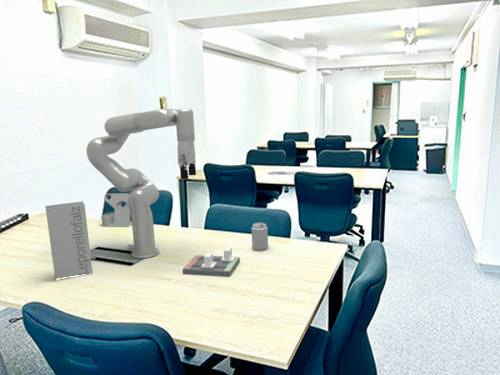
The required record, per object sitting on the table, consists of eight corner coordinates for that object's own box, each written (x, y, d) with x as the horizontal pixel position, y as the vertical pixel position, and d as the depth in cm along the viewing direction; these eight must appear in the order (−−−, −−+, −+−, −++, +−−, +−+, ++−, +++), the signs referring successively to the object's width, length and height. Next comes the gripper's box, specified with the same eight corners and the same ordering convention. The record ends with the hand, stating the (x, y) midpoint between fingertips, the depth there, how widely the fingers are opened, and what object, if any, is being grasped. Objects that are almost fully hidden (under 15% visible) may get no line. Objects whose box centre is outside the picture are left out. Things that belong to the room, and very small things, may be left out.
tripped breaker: (201, 268, 171) (200, 256, 170) (205, 263, 175) (204, 252, 174) (212, 268, 170) (212, 257, 169) (216, 264, 174) (216, 253, 173)
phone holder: (100, 226, 244) (97, 196, 240) (109, 221, 253) (106, 192, 250) (128, 227, 241) (125, 196, 237) (136, 222, 250) (133, 192, 247)
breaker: (221, 261, 177) (220, 250, 176) (224, 257, 182) (223, 246, 181) (232, 262, 176) (231, 251, 175) (235, 257, 181) (234, 247, 180)
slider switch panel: (183, 273, 171) (182, 268, 171) (196, 259, 187) (196, 255, 186) (230, 276, 167) (229, 271, 166) (239, 261, 182) (239, 257, 182)
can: (266, 251, 193) (266, 226, 191) (250, 251, 195) (249, 226, 192) (269, 246, 200) (268, 222, 198) (253, 245, 202) (253, 221, 200)
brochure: (55, 281, 169) (45, 208, 163) (54, 276, 174) (45, 206, 168) (92, 273, 175) (84, 203, 169) (90, 269, 180) (82, 201, 174)
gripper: (185, 136, 189) (187, 173, 192) (169, 139, 172) (172, 180, 176) (200, 136, 187) (203, 173, 191) (187, 139, 171) (189, 180, 174)
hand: (188, 177), depth 183 cm, fingers open, 9 cm apart
